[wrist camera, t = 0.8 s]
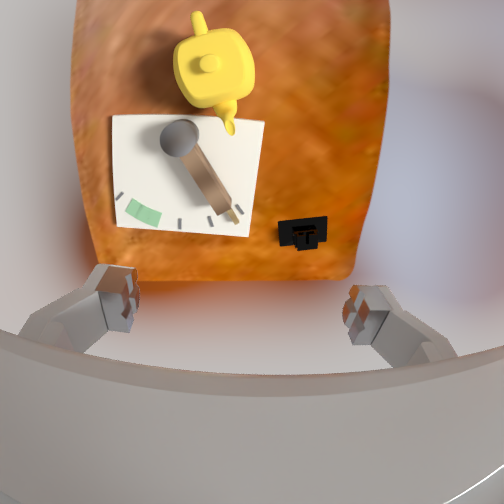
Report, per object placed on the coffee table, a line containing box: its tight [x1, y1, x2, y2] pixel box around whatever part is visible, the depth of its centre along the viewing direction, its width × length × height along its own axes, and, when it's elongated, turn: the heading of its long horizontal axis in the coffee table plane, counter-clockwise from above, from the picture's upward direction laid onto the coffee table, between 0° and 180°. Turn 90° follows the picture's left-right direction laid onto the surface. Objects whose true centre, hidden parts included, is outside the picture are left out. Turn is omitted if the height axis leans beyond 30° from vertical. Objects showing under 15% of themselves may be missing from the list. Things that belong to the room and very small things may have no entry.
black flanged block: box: [278, 216, 327, 251], centre depth 51 cm, size 12×7×5 cm, turn 96°
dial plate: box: [112, 114, 265, 237], centre depth 44 cm, size 20×24×2 cm
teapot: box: [173, 11, 255, 136], centre depth 32 cm, size 18×11×11 cm, turn 15°
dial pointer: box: [160, 119, 239, 225], centre depth 41 cm, size 20×5×4 cm, turn 28°
